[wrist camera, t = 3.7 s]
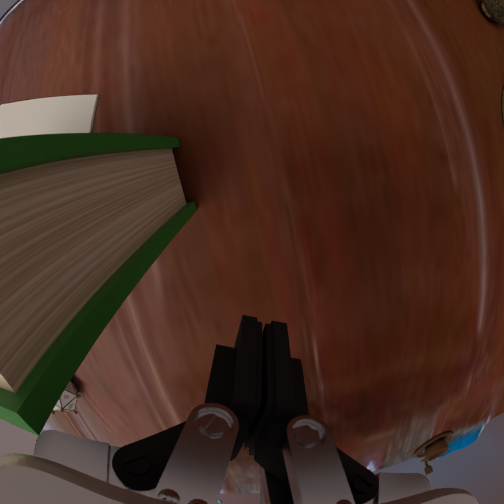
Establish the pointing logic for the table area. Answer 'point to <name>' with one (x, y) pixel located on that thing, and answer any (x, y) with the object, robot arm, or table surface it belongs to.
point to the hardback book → (74, 251)
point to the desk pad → (48, 116)
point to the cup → (493, 10)
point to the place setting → (433, 449)
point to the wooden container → (503, 104)
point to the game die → (67, 399)
